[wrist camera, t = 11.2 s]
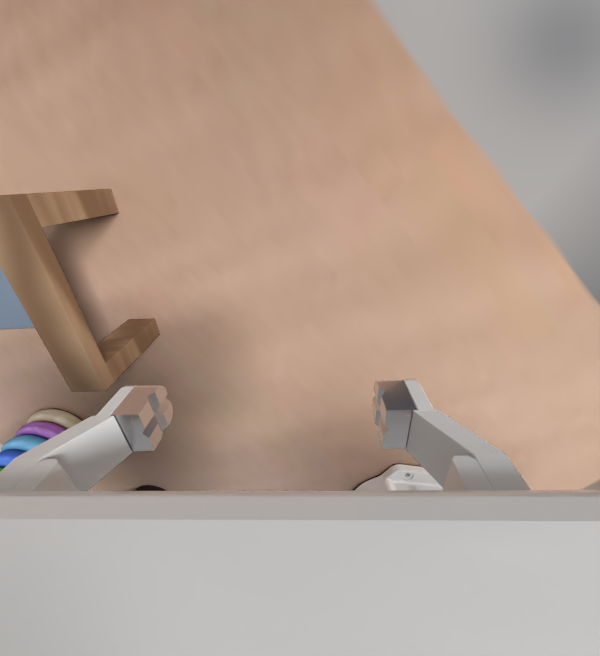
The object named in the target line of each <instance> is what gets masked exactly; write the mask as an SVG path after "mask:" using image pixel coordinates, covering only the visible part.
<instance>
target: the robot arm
mask: <svg viewBox="0 0 600 656" xmlns="http://www.w3.org/2000/svg"><path fill="white" fill-rule="evenodd" d="M374 392H375V395H376V396H375V397H374V398H373V404H372V406H373V416H374V421H375V424H376V425H378V436H379V440H380V443H381V447H382V448H392V449H406V450H407V451H408V452H409V453H410V454H411V455H412V457H413V458H414V459H415V460H416V461H417V462H418V463H419V464H420V465H421V466H422V467H419V466H411V465H403V464H397V465H394V466H392V467H390V468H389V469H388V470H386V471H385V472H384V473H383V474H382V475H380V476H378V477H376V478H373V479H371V480H368V481H366V482H365V483H363V484H361V485H360V486H359V487H357V488H356V489H355V490H354V491H88V490H89V489H90V488H91V487H92V486H94V485H95V484H96V483H97V482H98V481H99V480H101V479H102V478H103V477H104V476H105V475H106V474H108V473H109V472H110V471H111V470H112V469H114V468H115V467H116V466H117V465H118V464H119V463H121V462H122V461H123V460H124V459H125V458H126V457H128V456H129V455H130V454H131V453H132V451H155V449H156V447H157V445H158V444H159V442H160V440H161V438H162V437H163V434H162V431H163V430H164V429H165V428H167V427H168V426H169V424H170V422H171V421H172V416H173V406H172V403H171V402H170V401H169V400H168V399H167V398H166V396H167V394H168V392H167V390H166V388H165V387H164V386H162V385H138V386H124V387H121V389H120V390H119V391H118V392H117V393H116V394H115V395H114V396H113V397H112V398H111V400H110V401H109V402H108V403H107V404H106V405H105V406H104V407H103V408H102V409H101V411H100V412H99V413H98V414H97V415H96V416H91V417H89V418H87V419H85V420H83V421H82V422H80V423H78V424H76V425H74V426H73V427H71V428H69V429H67V430H65V431H63V432H62V433H60V434H58V435H56V436H54V437H52V438H51V439H49V440H47V441H45V442H43V443H41V444H40V445H38V446H36V447H34V448H32V449H30V450H29V451H27V452H25V453H23V454H21V455H20V456H18V457H16V458H14V459H13V460H12V461H11V462H10V463H9V464H8V465H7V466H6V467H5V468H4V469H3V470H2V471H1V472H0V656H600V490H531V489H530V488H529V486H528V485H527V484H526V482H525V481H524V479H523V478H522V476H521V475H520V474H519V472H518V471H517V469H516V468H515V466H514V465H513V464H512V462H511V461H510V459H509V458H508V457H507V455H506V454H505V453H503V452H502V451H500V450H499V449H497V448H495V447H494V446H492V445H491V444H489V443H488V442H486V441H485V440H483V439H482V438H480V437H479V436H477V435H476V434H474V433H472V432H471V431H469V430H468V429H466V428H465V427H463V426H462V425H460V424H459V423H457V422H456V421H454V420H453V419H451V418H450V417H448V416H446V415H445V414H443V413H442V412H440V411H439V410H434V409H433V407H432V405H431V404H430V402H429V400H428V398H427V396H426V394H425V393H424V391H423V389H422V387H421V385H420V383H419V381H418V380H417V379H404V380H382V381H375V383H374Z"/></svg>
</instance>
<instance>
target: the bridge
mask: <svg viewBox="0 0 600 656" xmlns="http://www.w3.org/2000/svg"><path fill="white" fill-rule="evenodd" d="M115 213H119V211H118V208H117V205H116V203H115V200H114V197H113V194H112V191H111V189H99V190H82V191H65V192H48V193H32V194H15V195H0V267H1V269H2V271H3V273H4V274H5V276H6V278H7V280H8V281H9V283H10V285H11V287H12V288H13V290H14V292H15V294H16V295H17V297H18V299H19V301H20V302H21V304H22V306H23V308H24V309H25V311H26V313H27V315H28V316H29V318H30V320H31V322H32V323H33V325H34V327H35V329H36V330H37V332H38V334H39V336H40V337H41V339H42V341H43V343H44V344H45V346H46V348H47V350H48V351H49V353H50V355H51V356H52V358H53V360H54V362H55V363H56V365H57V367H58V369H59V370H60V372H61V374H62V376H63V377H64V379H65V381H66V383H67V384H68V386H69V388H70V390H71V391H72V392H87V391H106V390H107V389H108V388H109V387H110V386H111V385H112V384H113V383H114V382H115V381H116V380H117V379H118V378H119V377H120V375H121V374H122V373H123V372H124V371H125V370H126V369H127V368H128V367H129V366H130V365H131V364H132V363H133V362H134V361H135V360H136V359H137V358H138V357H139V356H140V355H141V354H142V352H143V351H144V350H145V349H146V348H147V347H148V346H149V345H150V344H151V343H152V342H153V341H154V340H155V339H156V338H157V337H158V336H159V335H160V333H159V330H158V327H157V324H156V321H155V319H133V320H128V321H126V322H125V323H124V324H123V325H121V326H120V327H119V328H117V329H116V330H115V331H114V332H112V333H111V334H110V335H109V336H107V337H106V338H105V339H103V340H102V341H101V342H100V343H98V344H96V342H95V340H94V337H93V335H92V333H91V331H90V329H89V327H88V325H87V323H86V320H85V318H84V316H83V314H82V312H81V310H80V308H79V306H78V303H77V301H76V299H75V297H74V295H73V293H72V291H71V288H70V286H69V284H68V282H67V280H66V278H65V276H64V274H63V271H62V269H61V267H60V265H59V263H58V261H57V259H56V256H55V254H54V252H53V250H52V248H51V246H50V244H49V242H48V239H47V237H46V235H45V233H44V231H43V229H42V227H46V226H51V225H56V224H62V223H67V222H72V221H78V220H83V219H88V218H94V217H99V216H104V215H110V214H115Z"/></svg>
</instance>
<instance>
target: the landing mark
mask: <svg viewBox="0 0 600 656" xmlns="http://www.w3.org/2000/svg"><path fill="white" fill-rule="evenodd" d="M16 328H35V327H34V325H33V323H32V322H31V320H30V318H29V316H28V315H27V313H26V311H25V309H24V308H23V306H22V304H21V302H20V301H19V299H18V297H17V295H16V294H15V292H14V290H13V288H12V287H11V285H10V283H9V281H8V280H7V278H6V276H5V274H4V273H3V271H2V269H1V267H0V329H16Z"/></svg>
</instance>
